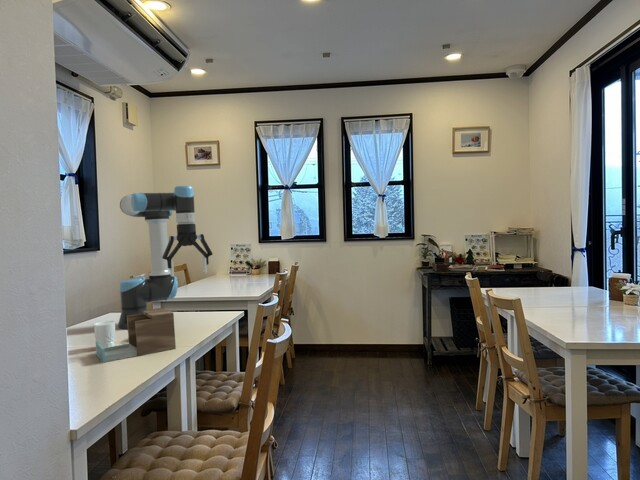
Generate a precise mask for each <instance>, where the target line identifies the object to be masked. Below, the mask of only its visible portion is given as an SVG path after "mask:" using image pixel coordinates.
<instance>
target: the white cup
mask: <svg viewBox="0 0 640 480" xmlns="http://www.w3.org/2000/svg"><path fill="white" fill-rule="evenodd" d="M93 330H94V338H95V343H96V342H97V341H98V342H99V343H100V344H101V345H102V347H103V348H107V347H113V346H116V321H114V320H106V321H99V322H96V323H94V324H93Z"/></svg>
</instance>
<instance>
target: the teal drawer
mask: <svg viewBox="0 0 640 480" xmlns="http://www.w3.org/2000/svg"><path fill="white" fill-rule="evenodd" d="M95 351H96V353H95V354H96V356H97V357H98V358H99V359H100V361H101V362H102V364H105V363H107V362H111V361H115V360H121V359H125V358H130V357H136V356H137V347H135V346H132V345H131V344H130V343H129V342H128V343H124V344H119V345H115V346H113V347H107V348H103V347H102V345H101V344H100V343H99V342H98V341H97V342H96V341H95ZM137 357H138V356H137Z"/></svg>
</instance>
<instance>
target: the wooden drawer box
mask: <svg viewBox="0 0 640 480" xmlns="http://www.w3.org/2000/svg"><path fill="white" fill-rule="evenodd" d="M142 312H143V314H136V315H130V316H127V325H128V329H127V337H128V338H127V339H128V344H129V343H130V344H131V345H132V346H135V347H136V348H137V357H142V356H145V355H151V354H156V353H161V352H166V351H172V350H175V349H177V347H176V333H175V316H174V315H175V314H174V312H173V311H171V310H168V309H166V308H164V307H158V308H156V307H155V308H150V309H147V310H143V311H142Z"/></svg>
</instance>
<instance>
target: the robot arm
mask: <svg viewBox="0 0 640 480" xmlns="http://www.w3.org/2000/svg"><path fill="white" fill-rule="evenodd" d="M173 190H174V192H135V193H134V192H133V193H132V194H128V195H127V194H126V195H125V196H123V197H122V198H121V199H120V202H119V208H120V211H121V212H122V213H124V214H125V215H127V216H129V217H132V218H133V217H134V218H144V221H145V222H146V223H147V224H148V235H149V238H148V239H149V250H150V264H151V267H150V268H151V272H150V273H149V274H148V278H146V277H145V276H138V277H137V276H136V277H131V278H128V279H124V280H122V281H121V282H120V284H119V294H120V307H121V309H120V310H121V311H120V316H119V320H118V328H119V329H121V330H123V329H125V330H128V325H127V316H130V315H136V314H143V312H142V311H143V310H148V304H147V303H153V302H160V301H168V300H173V299H174V298H175V297H176V296H177V293H178V288H179V286H178V284H179V282H178V278H177V277H176V276H175V267H174V266H175V265H174V260H173V258H174V257H175V255H176V254H177V253H178V251H179V250H180V249H181V247H187V246H190V247H191V246H193V247H195V248H196V249H197V251H198V252H199V253H200V254H201V255H202V256H203V257H202V258H201V259H202V272H203V274H208V268H207V267H208V265H209V258H210V256H213V252H212V250H211V249H210V247H209V245H208V243H207V240H205V235H204V234H202V233H200V234H197V229H196V224H195V222H196V212H195V193H194V188H193V186H192V185H176V186H175V187H174V189H173ZM173 211H174V212H175V220H176V222H175V223H177V225H176V236H174V235H170V236H169V238H168V228H167V224H168V221H169V220H170V217H171V216H173ZM197 239H198V240H200V242H201V244H202V246H203V248H204V249H203V248H202V247H201V246H200V245H199V243H197ZM175 241H177V244H176V245H175V246H174V248H173V249H172V246H173V245H174V242H175ZM171 249H172V250H171Z"/></svg>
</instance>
